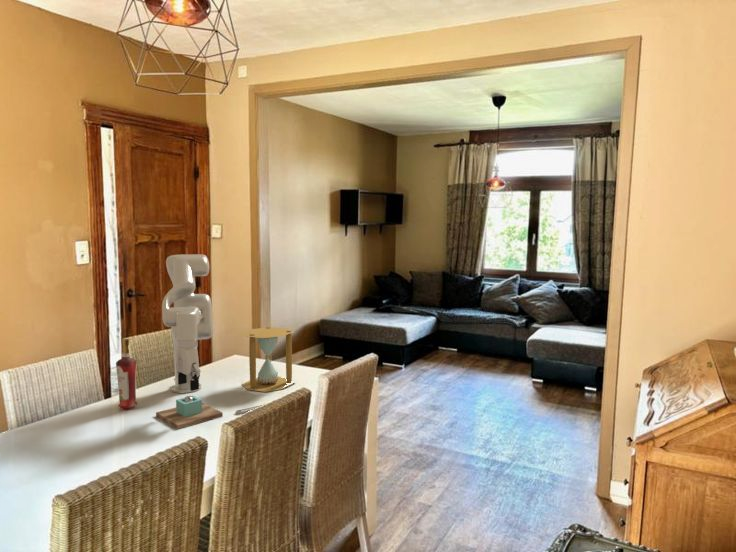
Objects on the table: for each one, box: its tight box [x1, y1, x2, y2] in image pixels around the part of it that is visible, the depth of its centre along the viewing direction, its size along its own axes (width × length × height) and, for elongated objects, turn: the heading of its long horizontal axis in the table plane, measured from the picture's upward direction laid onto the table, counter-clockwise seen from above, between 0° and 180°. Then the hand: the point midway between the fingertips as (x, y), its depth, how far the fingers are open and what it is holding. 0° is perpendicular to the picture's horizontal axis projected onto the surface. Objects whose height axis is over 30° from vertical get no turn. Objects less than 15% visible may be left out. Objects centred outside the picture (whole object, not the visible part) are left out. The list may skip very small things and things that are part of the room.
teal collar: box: [175, 395, 203, 417], centre depth 203 cm, size 7×7×5 cm
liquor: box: [115, 338, 138, 411], centre depth 211 cm, size 7×7×28 cm
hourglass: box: [241, 326, 295, 393], centre depth 242 cm, size 24×22×25 cm
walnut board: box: [155, 402, 224, 430], centre depth 203 cm, size 18×18×2 cm
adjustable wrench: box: [235, 403, 266, 416], centre depth 214 cm, size 25×6×2 cm, turn 121°
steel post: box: [184, 395, 194, 403], centre depth 203 cm, size 3×3×6 cm
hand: (188, 386), depth 202 cm, fingers open, 9 cm apart
